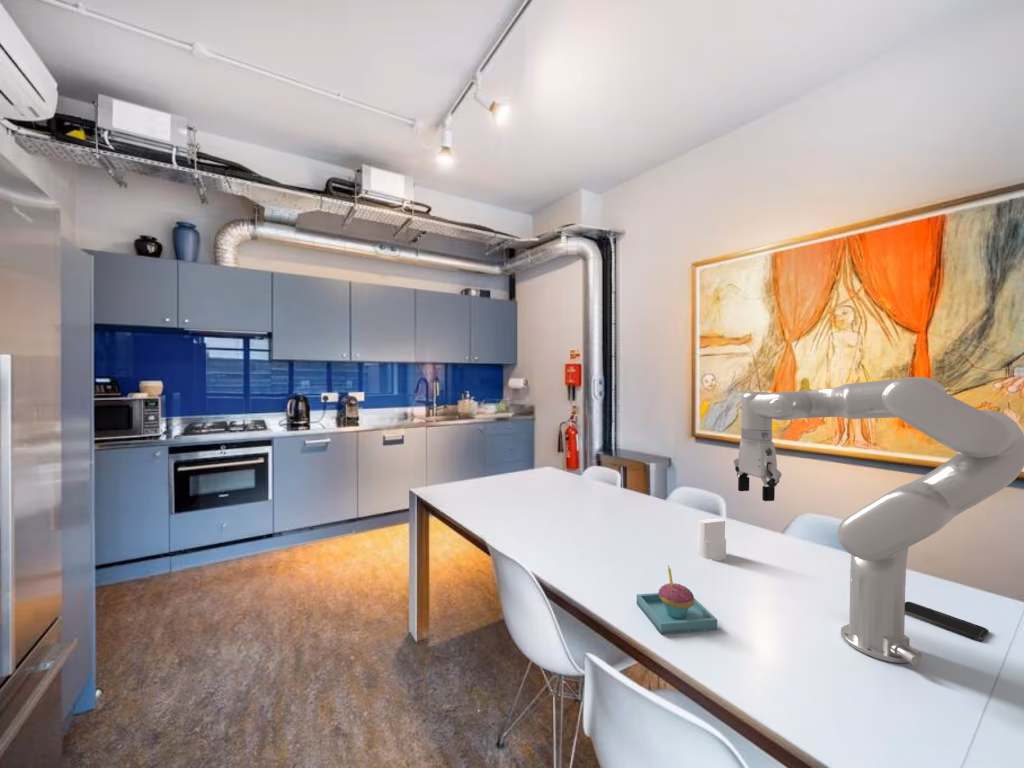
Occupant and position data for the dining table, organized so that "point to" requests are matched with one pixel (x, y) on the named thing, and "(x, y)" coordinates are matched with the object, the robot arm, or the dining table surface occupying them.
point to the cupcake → (676, 598)
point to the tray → (666, 624)
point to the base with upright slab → (711, 539)
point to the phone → (946, 622)
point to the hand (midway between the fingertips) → (755, 495)
